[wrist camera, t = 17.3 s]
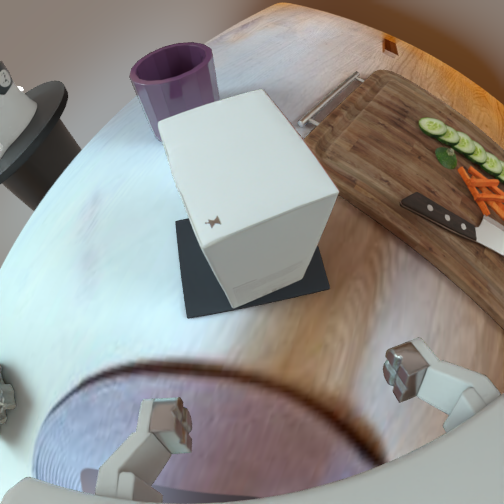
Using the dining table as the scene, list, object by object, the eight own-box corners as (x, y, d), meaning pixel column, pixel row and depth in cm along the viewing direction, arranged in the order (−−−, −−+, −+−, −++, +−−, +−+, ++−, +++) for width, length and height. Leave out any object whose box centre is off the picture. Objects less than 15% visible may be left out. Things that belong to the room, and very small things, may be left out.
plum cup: (152, 153, 30) (125, 94, 21) (153, 108, 33) (134, 55, 24) (226, 136, 30) (216, 71, 21) (217, 93, 33) (208, 36, 25)
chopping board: (563, 227, 24) (573, 219, 22) (543, 373, 17) (558, 371, 15) (367, 65, 36) (370, 50, 33) (269, 152, 29) (269, 132, 26)
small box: (303, 279, 23) (345, 193, 11) (232, 310, 23) (197, 252, 10) (263, 201, 26) (263, 85, 14) (198, 227, 25) (153, 121, 13)
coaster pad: (188, 318, 23) (186, 317, 23) (176, 223, 26) (175, 221, 26) (329, 289, 23) (330, 288, 23) (301, 198, 27) (301, 196, 26)
